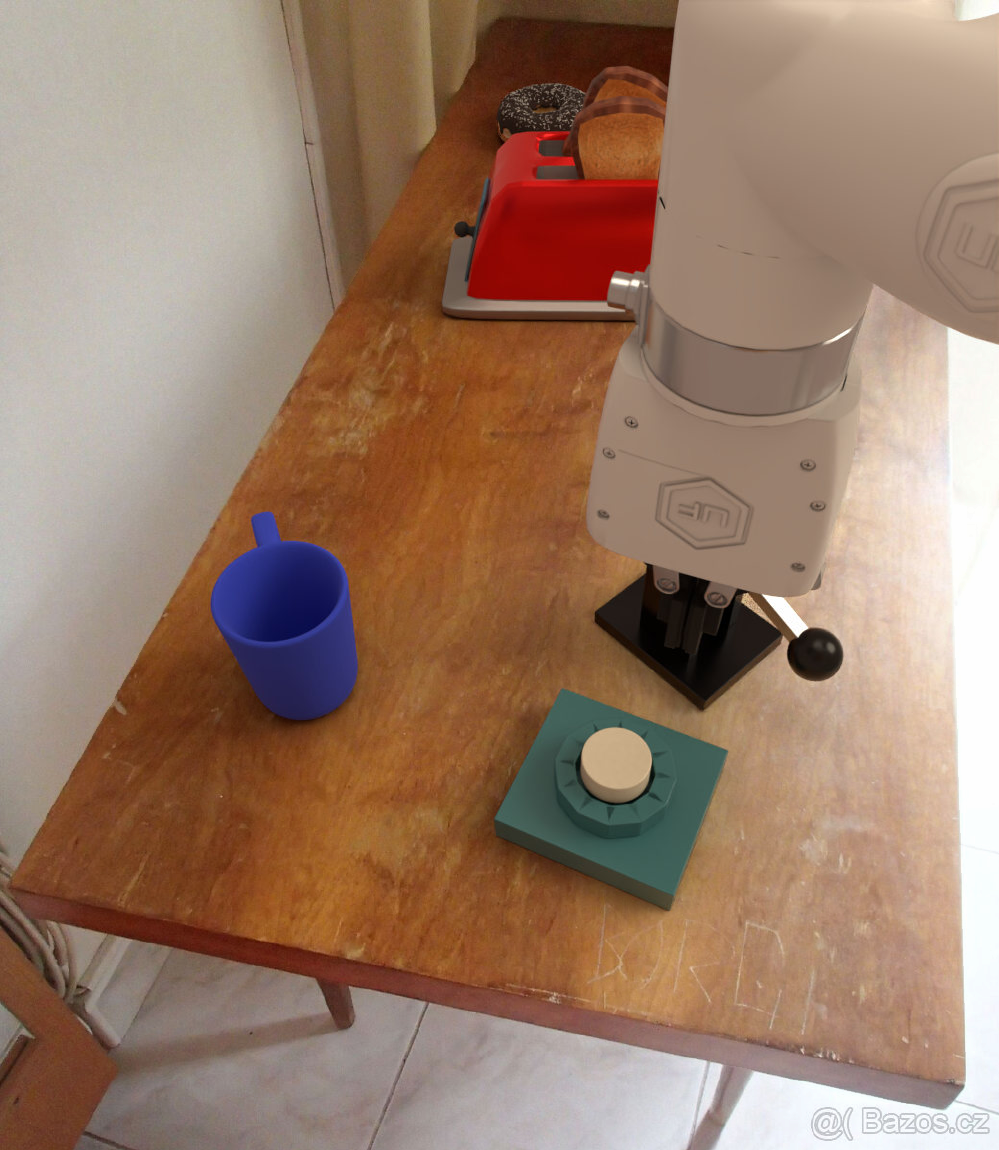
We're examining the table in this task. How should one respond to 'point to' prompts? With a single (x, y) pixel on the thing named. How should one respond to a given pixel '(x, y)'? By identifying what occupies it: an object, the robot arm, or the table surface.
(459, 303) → the toaster
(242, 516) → the table surface
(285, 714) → the mug
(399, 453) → the table surface
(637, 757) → the button
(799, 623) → the lever
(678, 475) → the robot arm
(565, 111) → the donut
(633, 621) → the bracket
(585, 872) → the button block
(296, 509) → the table surface
